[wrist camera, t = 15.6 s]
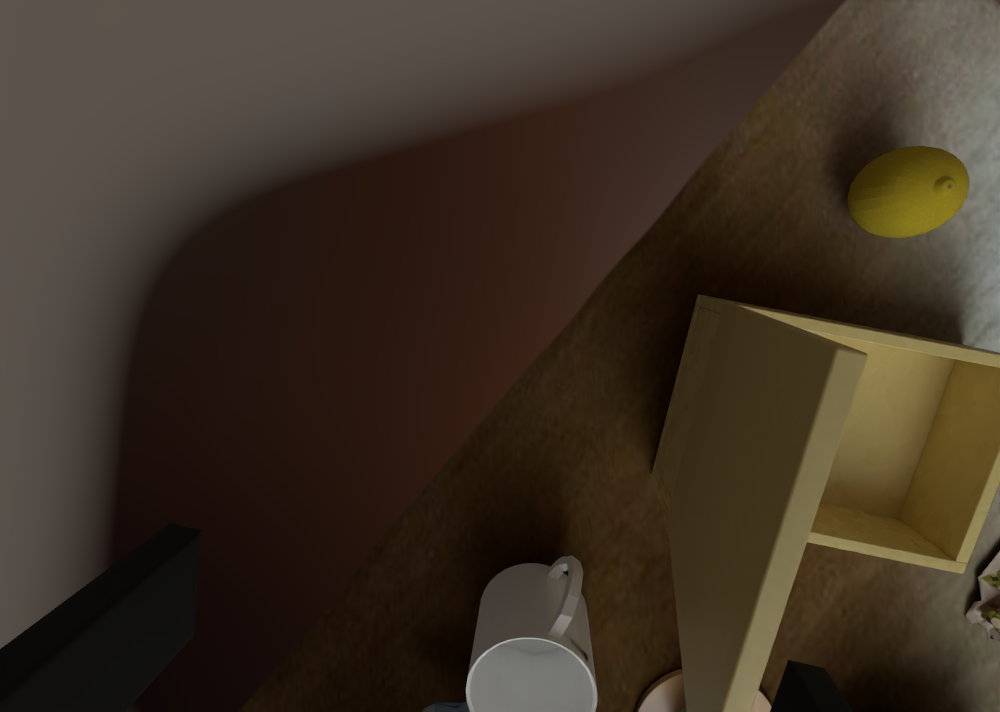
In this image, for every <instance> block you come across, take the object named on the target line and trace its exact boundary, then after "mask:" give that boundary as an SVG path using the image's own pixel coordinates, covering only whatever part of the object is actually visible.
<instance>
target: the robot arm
mask: <svg viewBox="0 0 1000 712" xmlns="http://www.w3.org/2000/svg"><path fill="white" fill-rule="evenodd" d="M201 539H202V530H198V529H193V528H188V527H184V526H180V525H175V524H171V523H169V524H168V525H167V526H165V527H164V528H162V529H161V530H160V531H158V532H157V533H156V534H154V535H153V536H152V537H150V538H149V539H148V540H146V541H145V542H144V543H142V544H141V545H140V546H138V547H137V548H136V549H135V550H133V551H132V552H130V553H129V554H127V555H126V556H125V557H123V558H122V559H121V560H120V561H118V562H117V563H116V564H114V565H113V566H111V567H110V568H109V569H107V570H106V571H105V572H103V573H102V574H101V575H99V576H98V577H97V578H95V579H94V580H93V581H91V582H90V583H89V584H87V585H86V586H85V587H83V588H82V589H80V590H79V591H78V592H76V593H75V594H74V595H73V596H71V597H70V598H68V599H67V600H66V601H64V602H63V603H62V604H60V605H59V606H58V607H56V608H55V609H54V610H52V611H51V612H50V613H48V614H47V615H46V616H45V617H43V618H42V619H40V620H39V621H38V622H36V623H35V624H33V625H32V626H31V627H29V628H28V629H27V630H25V631H24V632H23V633H22V634H20V635H19V636H17V637H16V638H15V639H13V640H12V641H11V642H10V643H8V644H7V645H5V646H4V647H3V648H1V649H0V712H126V710H127V709H128V708H129V707H130V706H131V705H132V704H133V703H134V701H135V700H136V699H137V698H138V697H139V696H140V695H141V694H142V693H143V691H144V690H145V689H146V688H147V687H148V686H149V685H150V684H151V682H152V681H153V680H154V679H155V678H156V677H157V676H158V675H159V674H160V672H161V671H162V670H163V669H164V668H165V667H166V666H167V665H168V663H169V662H170V661H171V660H172V659H173V658H174V657H175V656H176V655H177V653H178V652H179V651H180V650H181V649H182V648H183V647H184V646H185V645H186V643H187V642H188V641H189V640H190V639H191V638H192V637H193V635H194V623H195V612H196V599H197V586H198V575H199V563H200V551H201ZM770 712H853V711H852V709H851V708H850V706H849V705H848V703H847V702H846V700H845V699H844V697H843V696H842V694H841V693H840V691H839V690H838V688H837V687H836V685H835V684H834V682H833V681H832V679H831V678H830V676H829V675H828V673H827V672H826V670H825V669H824V668H822V667H817V666H813V665H808V664H804V663H799V662H795V661H790V660H788V663H787V666H786V669H785V671H784V674H783V677H782V680H781V683H780V685H779V688H778V691H777V694H776V697H775V699H774V702H773V705H772V708H771V711H770Z"/></svg>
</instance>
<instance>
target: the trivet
mask: <svg viewBox="0 0 1000 712" xmlns="http://www.w3.org/2000/svg"><path fill="white" fill-rule="evenodd" d="M685 706H686V701H685V691H684V681H683V671H682V669H679V670H675V671H673V672H671V673H669V674H667V675H665V676H663V677H661V678H660V679H658V680H657V681H656V682H655V683H653V684H652V685H651V686H650V687H649V688H648V689H647V690H646V692H645V693H644V694H643V696H642V697H641V699H640V701H639V703H638V705H637V708H636V711H635V712H680V711H681V710H682V709H683V708H684V707H685ZM771 708H772V706H771V704H770V702H769V700H768V699H767V697H766V695H765V694H764V693H763V692H762V690H761V689H760V688H759V689H758V692H757V695H756V698H755V701H754V704H753V707H752V710H751V712H770V711H771Z"/></svg>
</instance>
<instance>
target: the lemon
mask: <svg viewBox="0 0 1000 712" xmlns="http://www.w3.org/2000/svg"><path fill="white" fill-rule="evenodd" d="M968 190H969V177H968V173H967V170H966V168H965V167H964V165H963V163H962V162H961V161H960V160H959V159H958V158H957V157H956V156H955V155H953V154H951V153H949V152H947V151H944V150H942V149H939V148H932V147H925V146H917V147H906V148H900V149H897V150H894V151H891V152H888V153H885V154H883V155H881V156H879V157H878V158H876V159H875V160H873V161H871V162H870V163H868V164H867V165H866V166H865V167H864V168H863V169H862V170H861V171H860V172H859V173H858V174H857V176H856V177H855V179H854V181H853V182H852V184H851V187H850V190H849V193H848V208H849V212H850V214H851V216H852V218H853V220H854V221H855V222H856V223H857V224H858V225H859V226H860V227H861V228H862V229H864V230H866V231H867V232H869V233H871V234H875V235H878V236H881V237H887V238H905V237H910V236H915V235H919V234H923V233H926V232H928V231H930V230H932V229H935V228H937V227H939V226H941V225H942V224H944V223H945V222H946V221H948V220H949V219H950V218H952V217H953V216H954V215H955V214H956V213H957V212H958V210H959V209H960V208H961V207H962V205H963V203H964V201H965V199H966V197H967V194H968Z"/></svg>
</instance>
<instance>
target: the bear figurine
mask: <svg viewBox="0 0 1000 712" xmlns="http://www.w3.org/2000/svg"><path fill="white" fill-rule="evenodd" d="M978 580H979V584H980V592H981V599H982V601H977V602H974V603H973V605H972V607H971V608H970V610H969V611H968V613H967V614H966V618H967V619H968V621H969V624H974V623H980V624H981V625H982V626H983V627H984V628H985V629H986V630H987V635H988V638H991V639H995V640H998V641H1000V633H998V632H997V631H996V630H995V629H994V628H993V627H995V628H996V629H998V630H1000V551H999V553H998V554H997V555H996V556H995V558H994V559H993V560H992V561H991V563H990V564H989V565H988V566H987V568H986V569H985V570H984V572H983V573H982V574H981V575H980V576H979V577H978Z"/></svg>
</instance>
